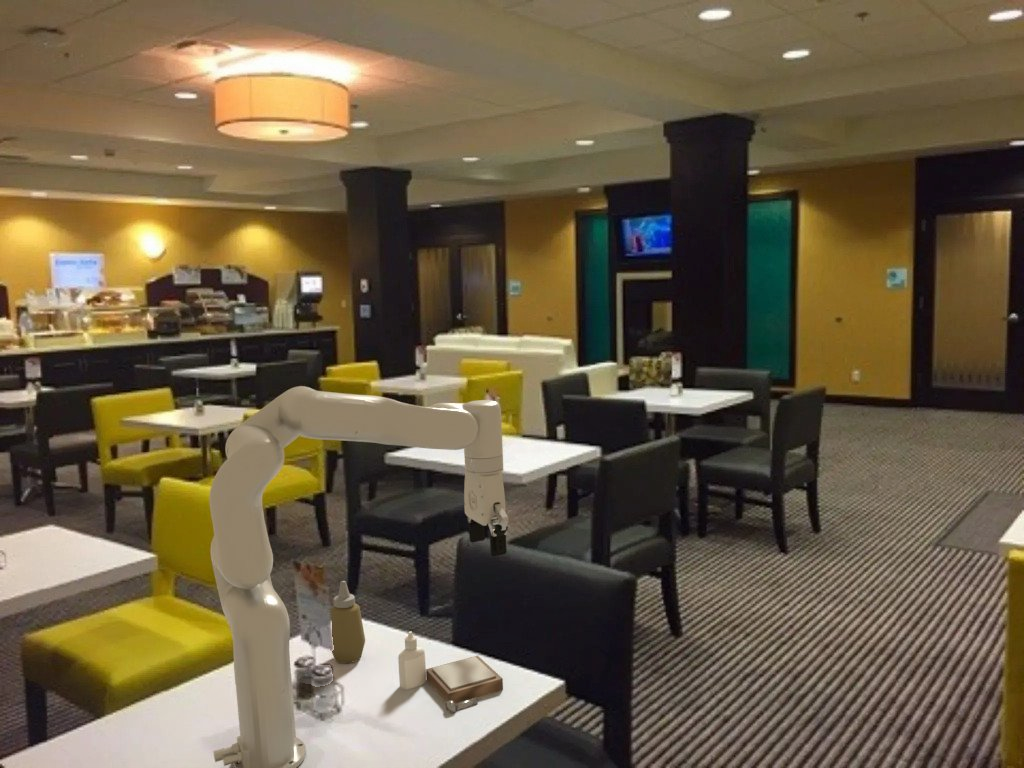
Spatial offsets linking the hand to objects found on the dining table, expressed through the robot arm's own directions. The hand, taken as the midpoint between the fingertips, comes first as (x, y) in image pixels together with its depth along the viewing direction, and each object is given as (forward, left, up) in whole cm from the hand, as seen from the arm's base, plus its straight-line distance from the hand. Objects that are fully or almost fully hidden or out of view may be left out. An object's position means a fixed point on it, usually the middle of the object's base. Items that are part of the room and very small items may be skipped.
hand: (487, 547), depth 171 cm
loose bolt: (-8, -2, -31) cm, 32 cm away
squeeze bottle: (-21, +32, -31) cm, 49 cm away
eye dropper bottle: (-13, +12, -31) cm, 36 cm away
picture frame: (-4, +6, -31) cm, 32 cm away
